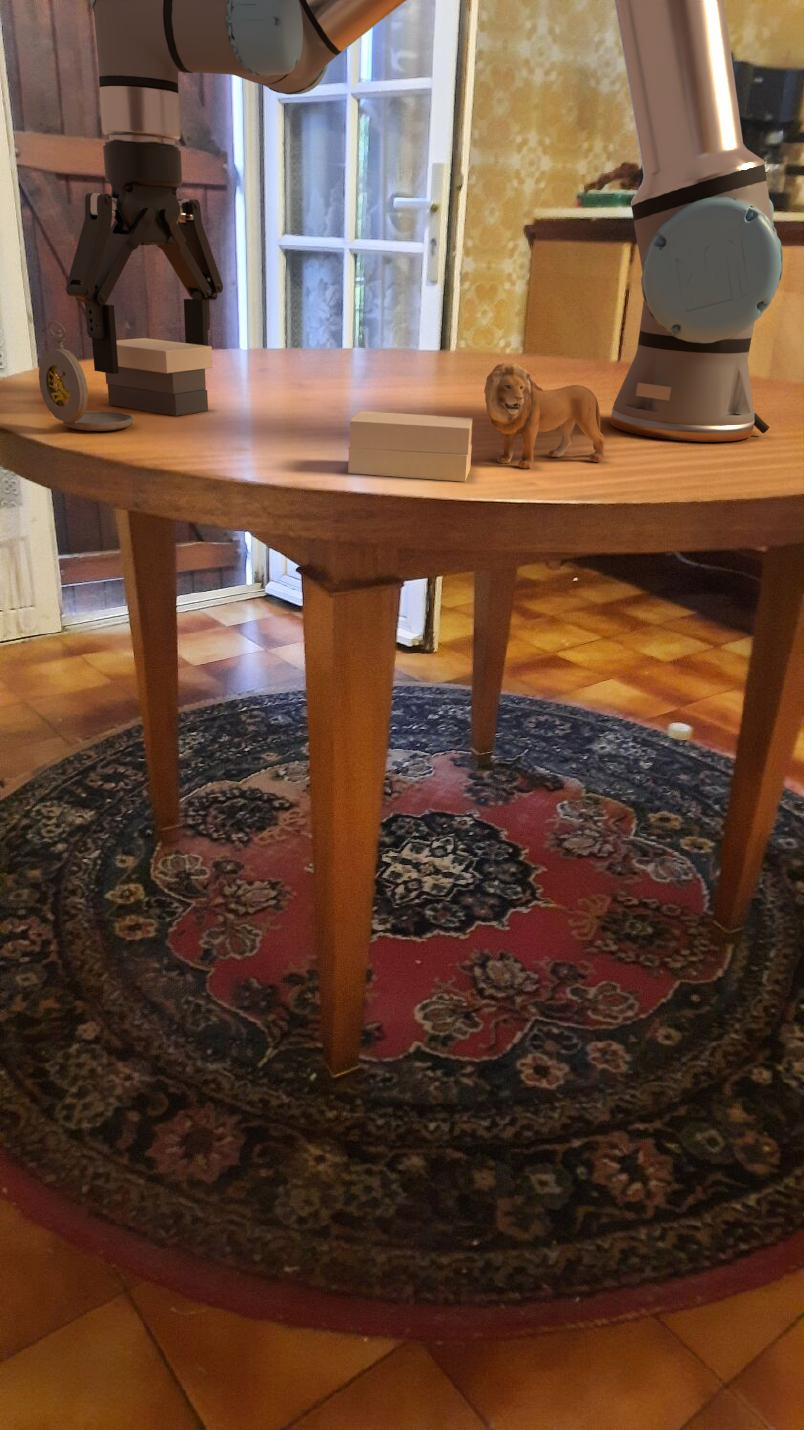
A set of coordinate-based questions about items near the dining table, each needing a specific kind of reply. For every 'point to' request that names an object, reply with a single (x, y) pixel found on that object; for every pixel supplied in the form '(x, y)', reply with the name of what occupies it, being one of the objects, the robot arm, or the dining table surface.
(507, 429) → the lion figurine
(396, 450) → the beige cardboard block
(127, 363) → the beige flat block
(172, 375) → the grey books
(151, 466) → the dining table surface
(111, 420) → the pocket watch
